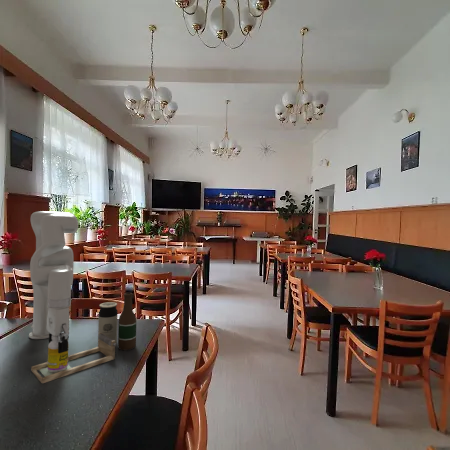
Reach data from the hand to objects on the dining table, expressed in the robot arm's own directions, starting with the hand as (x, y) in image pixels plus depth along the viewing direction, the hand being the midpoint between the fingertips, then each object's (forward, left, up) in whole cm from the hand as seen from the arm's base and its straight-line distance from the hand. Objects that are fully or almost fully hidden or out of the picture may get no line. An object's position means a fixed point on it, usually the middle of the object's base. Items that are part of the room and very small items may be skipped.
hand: (58, 347), depth 111 cm
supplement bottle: (0, 0, -8) cm, 8 cm away
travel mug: (-3, +25, -8) cm, 27 cm away
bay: (+2, +5, -8) cm, 10 cm away
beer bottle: (+7, +27, -8) cm, 30 cm away
